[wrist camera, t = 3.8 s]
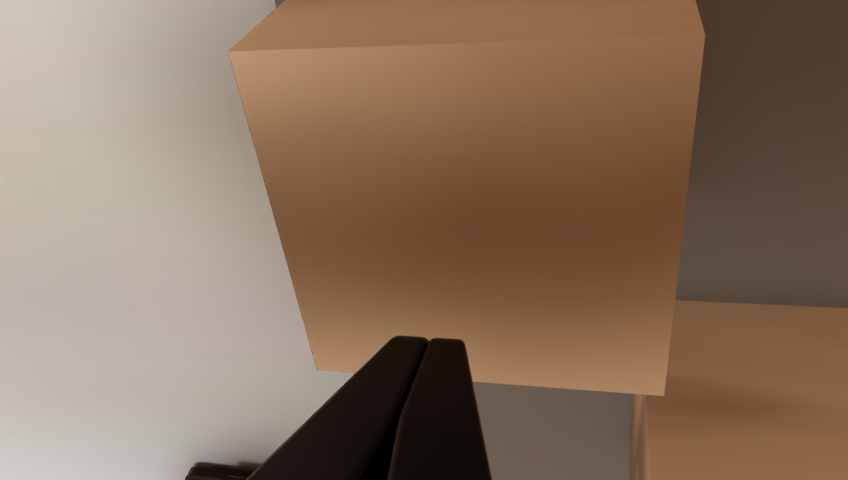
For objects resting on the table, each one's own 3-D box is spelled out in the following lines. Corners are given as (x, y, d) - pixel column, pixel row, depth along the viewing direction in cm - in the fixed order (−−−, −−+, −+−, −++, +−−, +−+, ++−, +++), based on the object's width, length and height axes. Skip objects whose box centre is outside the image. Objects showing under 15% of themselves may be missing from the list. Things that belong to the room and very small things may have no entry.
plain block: (648, 197, 16) (664, 396, 12) (395, 193, 18) (316, 370, 13) (671, -85, 13) (704, 34, 8) (354, -62, 14) (227, 52, 10)
